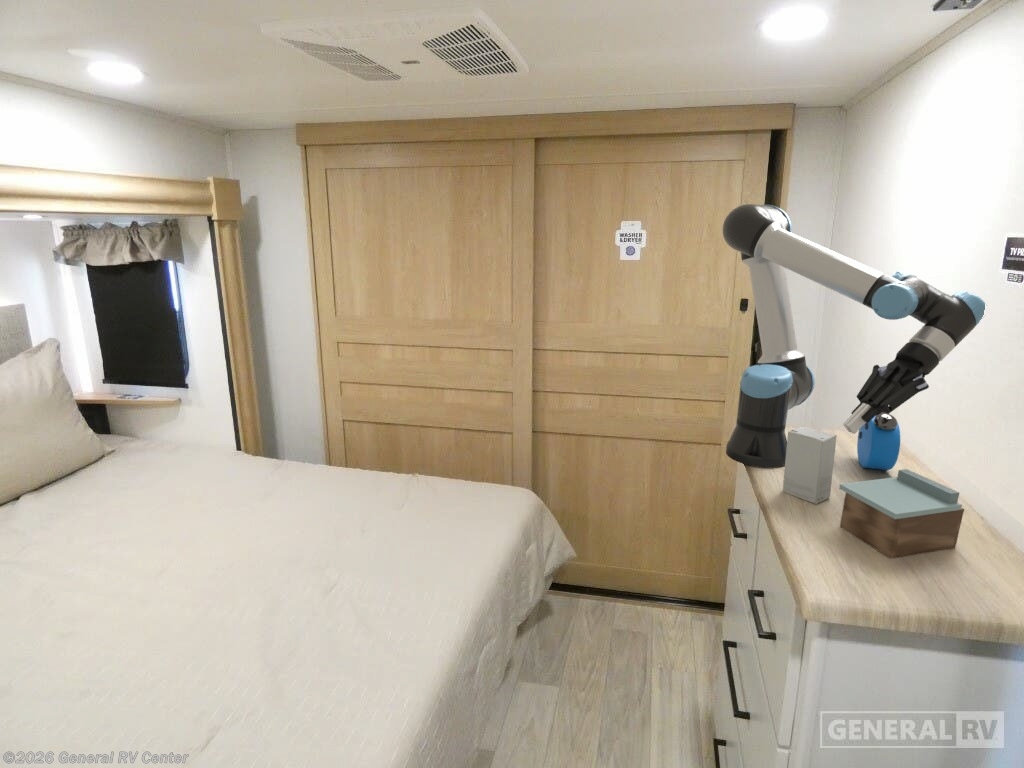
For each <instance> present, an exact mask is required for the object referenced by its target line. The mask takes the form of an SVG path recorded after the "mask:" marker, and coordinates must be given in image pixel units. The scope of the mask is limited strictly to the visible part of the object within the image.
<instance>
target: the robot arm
mask: <svg viewBox="0 0 1024 768" xmlns="http://www.w3.org/2000/svg"><path fill="white" fill-rule="evenodd" d="M722 236H723V238H724V241H725V243H726V244H727V246H729V247H730V248H731V249H733V250H735V251H737V252H739V253H740V256H741V262H742V263H743V264H745V265H746V266H747V267H748V268H749V274H750V275H749V276H750V281H751V289H752V294H753V300H754V302H753V303H754V307H755V313H756V319H757V326H758V327H757V328H758V333H759V334H758V335H759V339H760V345H761V351H762V352H761V353H762V355H761V356H760V358H759V359H758V360H757V364H754V365H751V366H749V367H746V368H745V370H744V371H742V376H741V378H740V382H739V385H740V386H739V395H738V396H739V397H738V405H737V414H736V415H737V416H736V424H735V427H734V429H733V431H732V433H731V436H730V437H729V440H728V442H727V443H726V449H725V453H726V456H727V457H728V458H730V459H731V460H733V461H735V462H737V463H740V464H744V465H746V466H751V467H756V466H758V468H780V467H785V459H786V449H787V436H786V427H787V419H788V411H789V410H791V409H793V408H794V407H796V406H799V405H802V404H803V403H804V402H805V401H806V400H807V399H808V398H810V396H811V394H812V393H813V391H814V388H815V384H816V383H815V381H816V380H815V376H814V373H813V371H812V369H811V368H810V367H808V366H807V362H806V355H805V354H804V353H803V352H801V351H800V350H799V349H798V346H797V339H796V332H795V325H794V324H795V323H794V319H793V312H792V304H791V298H790V292H789V286H788V284H789V283H788V278H787V273H786V272H787V271H786V269H787V270H789V271H791V272H793V273H795V274H798V275H800V276H802V277H804V278H806V279H808V280H811V281H812V282H814V283H817V284H818V285H821V286H823V287H826V288H827V289H830V290H832V291H834V292H836V293H838V294H840V295H842V296H845V297H847V298H848V299H851V300H853V301H855V302H857V303H859V304H862V305H863V306H866V307H867V308H869V309H871V310H873V312H874V313H875V314H876V315H877V316H878V317H879V318H881V319H884V320H891V321H893V320H894V321H895V320H901V319H904V318H907V317H909V316H911V317H912V318H914V319H915V320H917V321H919V322H920V323H922V324H924V325H922V327H921V328H920V329H919V330H918V331H917V332H916V333H915V334H914V335H913V336H912V337H911V338H910V339H909V341H908V342H906V343H905V344H904V345H903V346H902V347H901V348H900V349H899V350H898V351H897V353H896V355H895V358H894V359H893V360H892V361H891V362H888V364H887V365H883V366H879V364H875V365H873V367H872V372H871V373H870V375H869V376H868V378H867V379H866V381H865V382H864V384H863V385H862V387H861V388H860V390H859V392H858V393H857V394H856V398H857V400H858V401H859V404H858V405H857V406H855V408H854V409H853V410H852V411H851V415H850V416H849V417H848V418H847V419H846V420H845V421H844V422H843V423H842V425H843V426H844V428H845V429H846V430H847V431H848V432H849V433H851V434H853V435H855V434H856V433H857V432H859V429H860V428H861V427H862V426H863V425H864V424H865V423H866V422H867V423H868V422H870V421H871V420H872V419H873V418H874V417H875V416H876V415H877V414H878V413H881V412H885V413H887V414H888V413H889V414H890V413H892V412H893V411H895V410H896V409H898V408H899V407H900V406H901V405H903V404H904V403H906V402H907V401H908V400H910V399H911V398H913V397H914V396H916V395H917V394H918V393H921V392H923V391H925V390H927V389H929V387H930V386H929V384H928V383H927V381H926V380H925V376H927V375H930V374H931V372H933V371H934V369H935V368H936V367H937V366H938V365H939V364H940V362H942V361H943V360H945V358H946V357H947V356H948V355H949V354H950V353H951V352H952V351H953V350H954V349H955V348H956V347H957V345H959V343H960V342H962V341H963V340H964V339H965V338H966V337H967V336H968V335H969V334H970V333H971V332H972V331H973V330H974V329H975V327H977V326H978V324H980V322H981V321H982V320H983V318H984V317H983V315H984V310H985V304H986V303H985V301H984V300H983V299H982V298H981V297H980V296H978V295H976V294H974V293H969V292H968V291H957V292H956V293H955V294H952V295H950V294H947V293H946V292H943V291H941V290H939V289H937V288H936V287H934V286H933V285H930V284H929V283H927V282H925V281H924V280H922V279H920V278H918V277H917V275H916V276H915V275H914V274H911V273H909V272H906V271H904V270H898V271H896V272H895V273H893V275H887V274H885V273H883V272H881V271H879V270H877V269H874V268H872V267H870V266H868V265H866V264H863V263H861V262H858V261H857V260H854V259H852V258H849V257H848V256H844V255H842V254H841V253H838V252H836V251H833V250H831V249H829V248H827V247H826V246H825V247H824V246H821V245H820V244H818V243H816V242H813V241H810V240H809V239H806V238H804V237H801V236H799V235H797V234H795V233H792V222H791V219H790V217H789V215H788V214H787V212H786V211H784V210H783V209H781V208H780V207H777V206H775V205H773V204H755V203H753V204H752V203H748V204H742V205H738V206H736V207H735V208H734V209H732V210H730V212H729V213H728V214H727V215H726V216H725V218H724V221H723V224H722ZM982 317H983V318H982ZM981 319H982V320H981ZM980 320H981V321H980Z"/></svg>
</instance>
